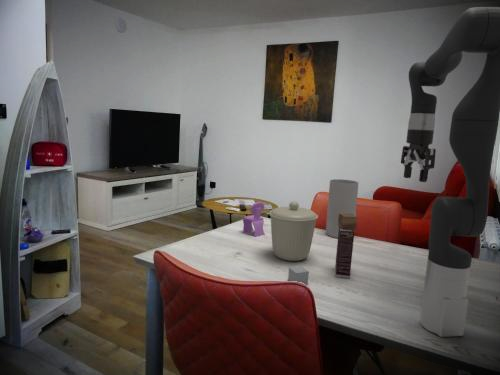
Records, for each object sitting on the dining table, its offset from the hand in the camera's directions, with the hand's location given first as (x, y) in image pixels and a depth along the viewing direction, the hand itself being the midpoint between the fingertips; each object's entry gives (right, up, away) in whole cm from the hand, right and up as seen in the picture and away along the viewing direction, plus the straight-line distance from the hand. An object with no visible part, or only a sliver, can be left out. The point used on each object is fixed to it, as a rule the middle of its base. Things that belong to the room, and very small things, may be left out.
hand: (414, 179), depth 116 cm
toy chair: (-51, -24, +47) cm, 74 cm away
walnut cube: (-21, -16, +4) cm, 27 cm away
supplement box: (-22, -32, +7) cm, 39 cm away
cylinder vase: (-12, -25, +50) cm, 57 cm away
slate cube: (-38, -33, -3) cm, 50 cm away
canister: (-38, -29, +20) cm, 52 cm away
